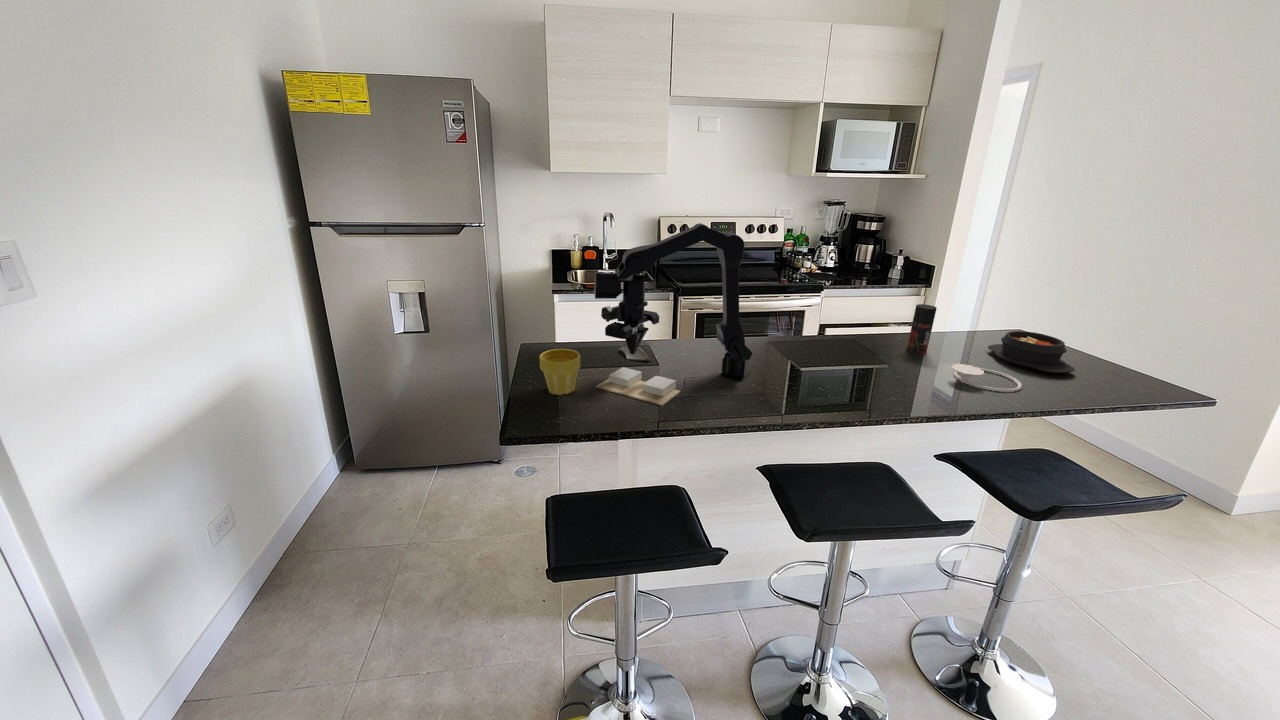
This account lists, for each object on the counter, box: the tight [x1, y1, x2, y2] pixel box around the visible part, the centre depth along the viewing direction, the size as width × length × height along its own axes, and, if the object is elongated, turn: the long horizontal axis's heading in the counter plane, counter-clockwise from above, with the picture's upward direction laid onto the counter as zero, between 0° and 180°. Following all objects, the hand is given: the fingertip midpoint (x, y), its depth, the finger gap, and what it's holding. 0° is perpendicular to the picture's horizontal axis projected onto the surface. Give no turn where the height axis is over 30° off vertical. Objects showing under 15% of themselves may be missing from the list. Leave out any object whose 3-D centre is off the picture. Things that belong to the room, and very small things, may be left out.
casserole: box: [987, 330, 1076, 374], centre depth 167 cm, size 25×19×8 cm
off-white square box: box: [643, 375, 677, 396], centre depth 140 cm, size 6×2×7 cm
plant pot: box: [539, 348, 581, 396], centre depth 138 cm, size 10×10×10 cm
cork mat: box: [595, 378, 681, 407], centre depth 141 cm, size 20×10×1 cm, turn 59°
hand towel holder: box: [951, 363, 1023, 393], centre depth 153 cm, size 17×4×21 cm
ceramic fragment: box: [619, 342, 651, 363], centre depth 164 cm, size 14×5×4 cm, turn 38°
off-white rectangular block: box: [608, 366, 643, 387], centre depth 145 cm, size 6×2×7 cm
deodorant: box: [906, 303, 938, 355], centre depth 174 cm, size 6×6×15 cm
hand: (632, 353), depth 146 cm, fingers closed
